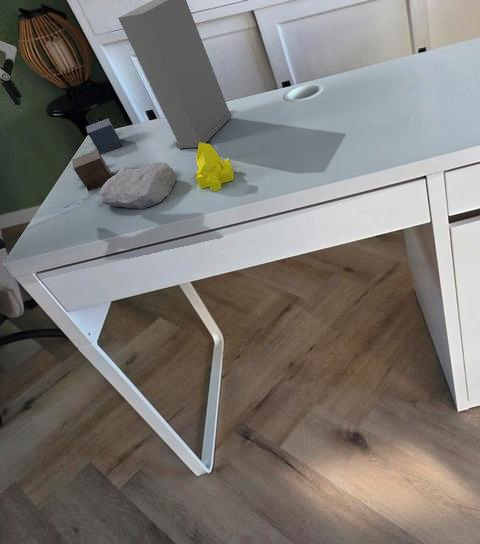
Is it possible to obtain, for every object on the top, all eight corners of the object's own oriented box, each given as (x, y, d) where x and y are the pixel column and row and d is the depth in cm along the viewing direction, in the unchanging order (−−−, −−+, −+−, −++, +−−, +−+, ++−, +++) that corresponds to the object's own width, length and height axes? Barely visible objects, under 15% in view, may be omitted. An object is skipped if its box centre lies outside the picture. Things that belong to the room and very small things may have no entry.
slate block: (100, 154, 106) (87, 133, 103) (98, 147, 110) (85, 126, 107) (122, 145, 108) (110, 124, 105) (119, 138, 111) (108, 118, 108)
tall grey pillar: (209, 119, 110) (157, -4, 94) (232, 117, 108) (183, -9, 92) (177, 149, 100) (113, 18, 84) (202, 148, 98) (142, 13, 82)
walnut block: (88, 191, 93) (73, 168, 90) (86, 181, 97) (71, 159, 94) (114, 180, 94) (100, 157, 91) (111, 171, 98) (97, 149, 95)
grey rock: (165, 214, 84) (181, 174, 90) (149, 194, 80) (167, 154, 86) (107, 222, 87) (126, 183, 93) (88, 204, 83) (110, 164, 89)
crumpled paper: (233, 165, 89) (217, 125, 84) (233, 186, 83) (215, 144, 78) (202, 173, 89) (184, 134, 84) (200, 195, 83) (180, 154, 78)
